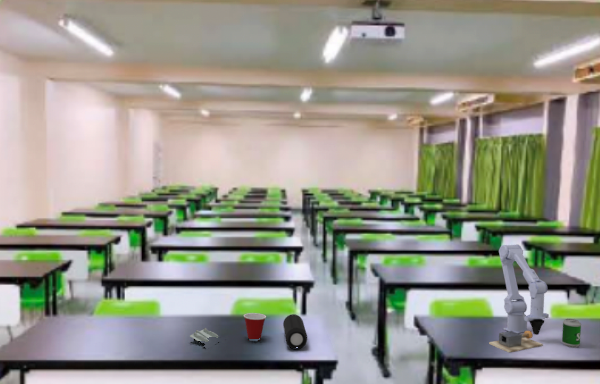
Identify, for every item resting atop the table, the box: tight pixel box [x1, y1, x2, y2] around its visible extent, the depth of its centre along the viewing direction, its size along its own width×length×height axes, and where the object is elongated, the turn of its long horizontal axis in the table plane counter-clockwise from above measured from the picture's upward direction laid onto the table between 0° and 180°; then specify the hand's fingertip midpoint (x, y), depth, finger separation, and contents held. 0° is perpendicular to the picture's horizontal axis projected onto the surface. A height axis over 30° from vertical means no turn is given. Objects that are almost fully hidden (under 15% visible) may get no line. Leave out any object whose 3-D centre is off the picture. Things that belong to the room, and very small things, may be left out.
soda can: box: [561, 318, 582, 349], centre depth 244 cm, size 8×8×12 cm
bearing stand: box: [488, 331, 544, 353], centre depth 244 cm, size 22×12×6 cm, turn 116°
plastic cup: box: [243, 312, 267, 339], centre depth 245 cm, size 11×11×12 cm
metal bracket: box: [189, 327, 219, 342], centre depth 241 cm, size 14×6×15 cm
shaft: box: [520, 330, 534, 339], centre depth 245 cm, size 14×4×4 cm, turn 116°
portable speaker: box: [282, 313, 308, 349], centre depth 244 cm, size 26×10×10 cm, turn 5°
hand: (535, 334), depth 250 cm, fingers closed
